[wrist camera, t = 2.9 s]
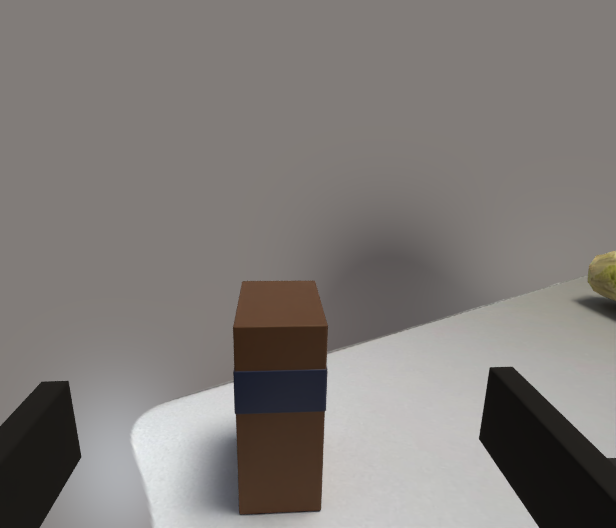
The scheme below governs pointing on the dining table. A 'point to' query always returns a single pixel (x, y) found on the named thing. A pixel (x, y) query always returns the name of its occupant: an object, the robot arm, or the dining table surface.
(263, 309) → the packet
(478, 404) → the dining table surface
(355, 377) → the dining table surface
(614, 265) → the lettuce
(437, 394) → the dining table surface
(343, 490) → the dining table surface
